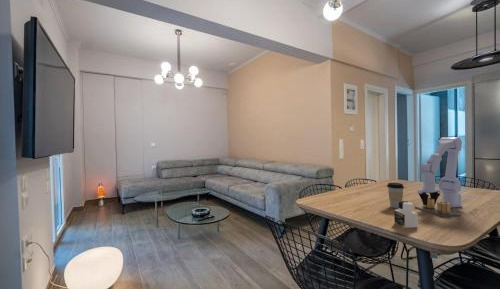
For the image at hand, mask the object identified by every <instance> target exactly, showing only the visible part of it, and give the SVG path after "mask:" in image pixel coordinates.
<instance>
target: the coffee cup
mask: <svg viewBox="0 0 500 289" xmlns="http://www.w3.org/2000/svg"><path fill="white" fill-rule="evenodd" d="M386 187H387V188H388V199H389V206H390V208H393V209H399V202H400V201H403V195H404V188H405V185H404V184H403V183H399V182H389V183H387V184H386Z"/></svg>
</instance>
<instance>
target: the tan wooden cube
mask: <svg viewBox="0 0 500 289" xmlns="http://www.w3.org/2000/svg"><path fill="white" fill-rule="evenodd" d="M435 205H436V204H435V202H434V198H431V197H428V201H427V205H423V204H422V206H423V207H425V208H435Z"/></svg>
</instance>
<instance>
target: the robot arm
mask: <svg viewBox="0 0 500 289" xmlns="http://www.w3.org/2000/svg"><path fill="white" fill-rule="evenodd" d="M462 144H463V140H462V139H461V138H460V137H459V136H456V137H440V139H439V140H438V147H437V148H436V150H435V151H434V152H435V153H432V154H431V155H430V156H429V158H428V159H427V160H426V162H424V163H422V164H421V166H420V170H421V172H422V175H423V176H422V177H423V178H422V179H423V180H422V181H423V183H422V184H423V185H422V186H423V188H420V189H418V190H417V194H418V196H419V197H420V199H421V202H422V206H423V205H427V201H428V197H429V196H430V198H434V202H435V205H437V202H438V199H439V197H440V196H442V198H441V200H442V201H443V202H448V203H450V208H460V207H463V205H462V194H461V193H460V192H461V190H462V184H461V180H460V179H458V178H457V176H456V175H457V171H458V170H457V168H458V162H459V161H458V160H459V156H460V155H459V153H460V151H462ZM445 152H447V160H446V166H445V174H444V176H443V177H441V178H440V179H439V180H440V181H439V182H438V188H436V173H437V172H438V168H439V164H440V163H441V161H442V160H443V158H442V156H443V155H444V154H445Z"/></svg>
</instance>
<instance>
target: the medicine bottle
mask: <svg viewBox="0 0 500 289" xmlns="http://www.w3.org/2000/svg"><path fill="white" fill-rule="evenodd" d="M418 215H419V214H418V213H417V212H415V211H414V204H413V202H411V201H408V200H407V201H406V200H402V201H400V202H399V208H398V209H394V218H393V219H394V224H396V225H398V226H400V227H402V228H403V229H411V228H413V229H414V228H418V225H419V224H418Z"/></svg>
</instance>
